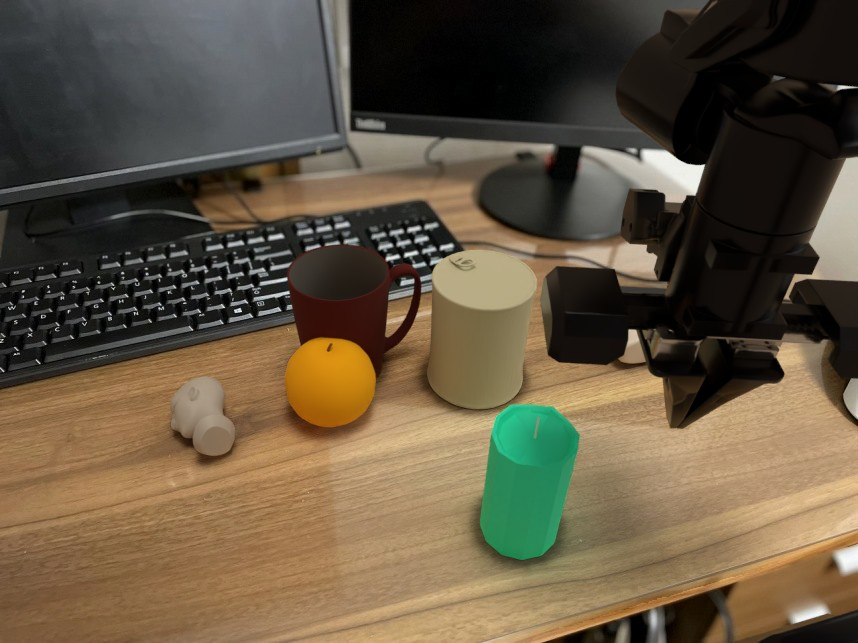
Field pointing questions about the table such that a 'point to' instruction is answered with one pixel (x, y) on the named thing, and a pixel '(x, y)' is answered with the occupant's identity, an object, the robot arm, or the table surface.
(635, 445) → the table surface
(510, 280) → the can
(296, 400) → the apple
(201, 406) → the pale two-lobed sculpture
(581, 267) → the robot arm
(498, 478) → the candle
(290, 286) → the mug
